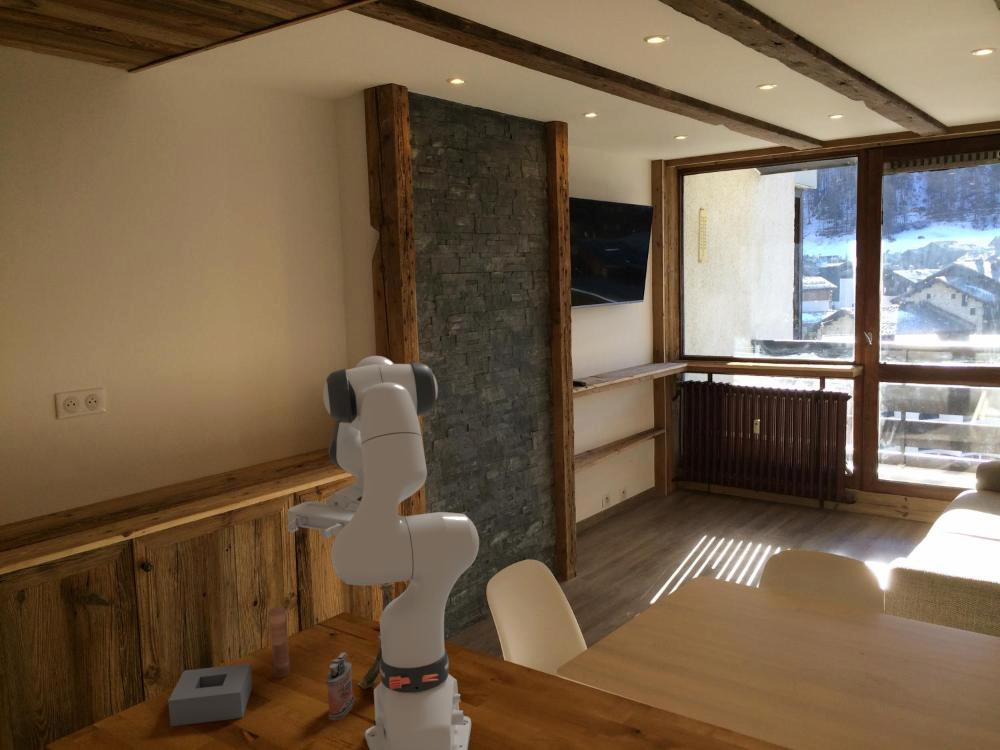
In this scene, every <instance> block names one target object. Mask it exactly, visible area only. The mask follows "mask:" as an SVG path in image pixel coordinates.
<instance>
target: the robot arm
mask: <svg viewBox="0 0 1000 750" xmlns="http://www.w3.org/2000/svg"><path fill="white" fill-rule="evenodd" d="M438 387H439V386H438V382H437V379H436V376H435V374H434V373H433V370H432V369H431V368H430V367H429V366H428V365H426V364H425V363H419V362H410V363H394V362H393V361H392V360H390V359H388V358H387V357H385V356H380V355H371V356H370V355H369V356H367V357H365V358H363V359H362V360H360V361H359V362H358V363H357V365H356V366H355V367H353V368H349V369H346V368H341V369H338V370H335V371H333V372H331V373H329V374H328V376H327V377H326V382H325V384H324V386H323V390H322V391H323V393H322V394H323V395H322V396H323V397H322V399H323V404H324V407H325V409H326V411H327V412H328V414H329V415H330V418H331V419H333V420H335V424H334V429H333V430H334V431H333V437H332V438H331V440H330V443H329V446H328V457H329V461H330V463H331V464H332V465H334V466H336V467H338V468H339V469H341V470H344V471H345V472H347V473H348V474H350V475H351V476H352V477H354V478H355V479H357V481H355V482H354V483H352V485H349V486H345V487H343V488H342V489H340V490H338V491H336V492H334V493H332V494H330V496H329V497H328V498H327V501H326V502H323V501H316V500H308V501H305V502H304V501H303V502H302V503H301V502H300V503H299V504H296V505H294V506H291V507H290V508H288V509H287V512H286V515H287V516H286V517H287V521H288V523H287V526H286V527H287V528H286V529H287V531H288V532H289V533H290V532H291V533H295V532H297V531H298V530H299V527H300V528H306V529H310V530H318V531H320V534H321V535H320V536H321V538H322V539H323V538H324V539H329V538H331V537H334V536H335V538H334V540H333V542H332V546H331V553H330V557H331V563H332V566H333V570H334V571H335V574H336V575H337V576H338V578H339V579H340V580H342V582H344V583H345V584H346V585H355V586H379V585H380V586H381V584H386V583H392V584H393V583H399V582H405V581H409V584H408V586H407V588H406V589H405V590H404V591H403V592H402V594H400V595H399V596H398V597H395V598H393V601H391V602H390V603H389V604H388V605H387V606H386V608H385V609H384V611H383V610H382V612H383V613H381V615H380V618H379V629H380V630H379V631H380V636H381V647H382V656H381V658H380V679H381V681H380V683H379V684H378V685H377V686H376V687H375V688H374V689H373V698H374V699H373V700H374V719H373V724H374V725H373V726H371V727H370V728H368V729H366V730H365V732H364V738H365V741H366V744H367V746H368V749H369V750H468V749H469V742H470V737H471V736H470V735H471V728H472V721H471V720H472V719H471V718H470V717H469V716H467V715H466V716H465V715H464V710H462V709H461V710H460V705H459V703H461V701H462V700H461V693H459V692H458V691H459V690H458V681H457V679H456V678H454V677H453V676H452V675H451V674H450V672H449V669H450V668H449V664H450V663H449V657H448V652H447V651H448V650H447V649H446V648H445V611H446V604H447V601H448V598H449V595H450V593H451V591H452V590H453V587H454V586H455V584H456V582H457V581H458V580H459V578H460V576H462V575H463V573H465V571H466V570H468V568H470V567H471V566H472V564H473V563H474V561H475V560H476V557H477V555H478V553H479V549H480V548H479V547H480V537H479V532H478V530H477V527H476V525H475V524H474V522H472V520H471V519H470V517H468V516H467V515H466V514H465V513H460V512H459V513H458V512H446V511H443V512H442V511H436V512H429V513H423V514H422V513H420V514H413V515H408V516H407V515H406V516H403V515H399V505H400V504H401V503H402V502H403V501H405V500H407V499H409V498H410V497H411V496H413V495H414V494H415V493H417V492H418V491H419V490H421V488H422V487H423V486H424V485H425V483H426V480H427V478H428V477H427V476H428V470H427V463H426V457H425V450H424V449H425V448H424V444H423V443H424V442H423V436H422V430H421V426H420V425H421V424H420V421H419V420H420V419H419V416H422V415H425V414H427V413H430V412H432V411H433V409H434V408H435V406H436V403H437V397H438V393H439V391H438V390H439V388H438Z"/></svg>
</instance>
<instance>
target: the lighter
mask: <svg viewBox="0 0 1000 750" xmlns="http://www.w3.org/2000/svg"><path fill="white" fill-rule="evenodd" d="M347 660H348V653H346V652H341V653H340V655H339V656H337V658H333V659H332V661H331V664H330V665H329V673H328V674H327V676H326V678H325V683H326V685H327V695H328V696H327V698H328V709H329V710H328V719H329V720H330V719H331V721H339V720H341V719H343V718H344V717H345V716H346V715H347V714H348V713H349V712H350V711H351V710H352V707H353V706H354V704H355V698H354V697H355V696H354V694H353V693H354V692H353V684H352V683H353V682H352V663H351V662H346V661H347Z"/></svg>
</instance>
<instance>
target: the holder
mask: <svg viewBox="0 0 1000 750" xmlns="http://www.w3.org/2000/svg"><path fill="white" fill-rule="evenodd" d="M177 681H178V682H177V683H176V685H175V687H174V688H173V691H172V693H171V694H170V696H169V698H168V701H167V703H168V710H169V711H168V712H169V713H168V714H169V722H170V723H169V724H170V727H177V726H184V725H194V724H202V723H210V722H211V723H212V722H217V721H218V722H220V721H226V720H234V719H235V720H236V719H243V718H244V714H245V712H246V708H247V705H248V702H249V699H250V695H251V693H252V689H253V678H252V667H251V663H250V662H249V663H248V662H247V663H240V664H233V665H232V664H231V665H223V666H215V667H214V666H213V667H206V668H196V669H195V668H194V669H187V670H183V672H182V673H181V675H180V678H179V679H178V680H177Z"/></svg>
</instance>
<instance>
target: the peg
mask: <svg viewBox="0 0 1000 750" xmlns="http://www.w3.org/2000/svg"><path fill="white" fill-rule="evenodd" d="M268 611H269V621H270V622H269V624H270V634H271V635H270V637H271V648H272V661H273V670H274V671H273V673H274V674H273V675H274V677H275V678H279V679H280V678H285V677H288V676H290V674H291V667H290V665H291V664H290V656H289V655H290V653H289V642H288V629H287V628H288V627H287V617H286V608H285V607H284V606H276V607H272V608H270V609H269V610H268Z"/></svg>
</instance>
